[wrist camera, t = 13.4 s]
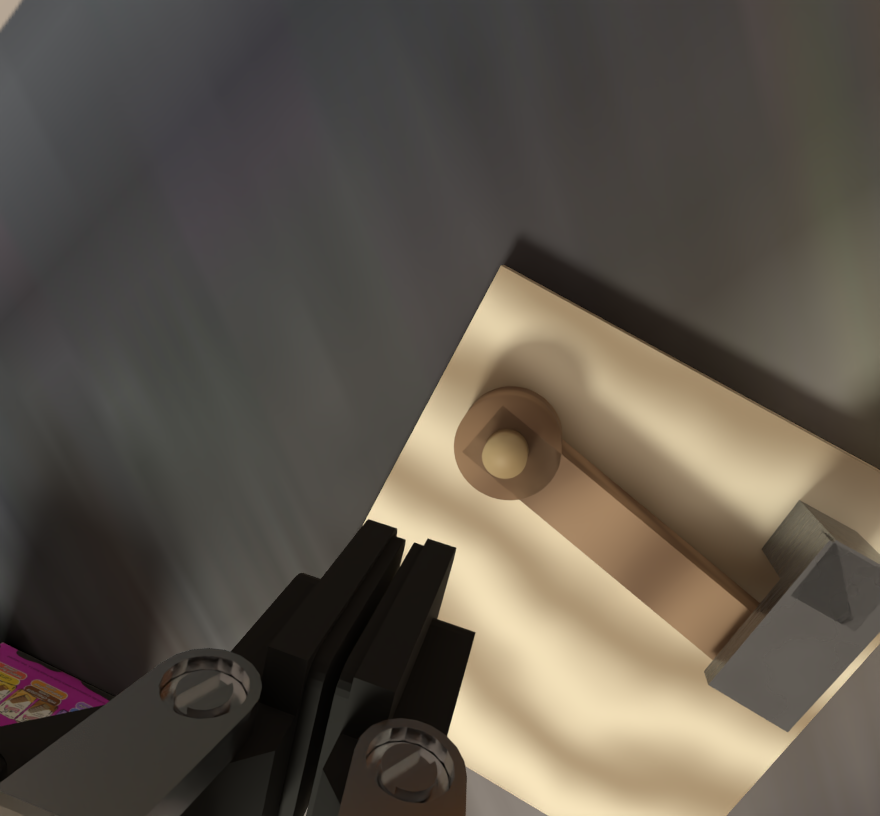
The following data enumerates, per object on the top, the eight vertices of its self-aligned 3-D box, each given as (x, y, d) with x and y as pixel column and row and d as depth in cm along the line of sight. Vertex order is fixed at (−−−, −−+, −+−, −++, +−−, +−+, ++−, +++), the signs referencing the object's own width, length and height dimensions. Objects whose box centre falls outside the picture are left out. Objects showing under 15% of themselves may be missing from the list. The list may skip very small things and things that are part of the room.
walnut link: (442, 439, 33) (427, 461, 30) (505, 365, 32) (496, 379, 28) (751, 695, 33) (772, 747, 30) (828, 633, 32) (860, 681, 28)
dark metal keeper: (792, 496, 31) (828, 535, 27) (872, 540, 31) (920, 587, 26) (689, 630, 33) (707, 686, 29) (762, 671, 33) (790, 734, 29)
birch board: (504, 264, 32) (501, 265, 31) (963, 515, 31) (982, 528, 30) (300, 646, 40) (290, 660, 39) (660, 861, 39) (664, 885, 37)
